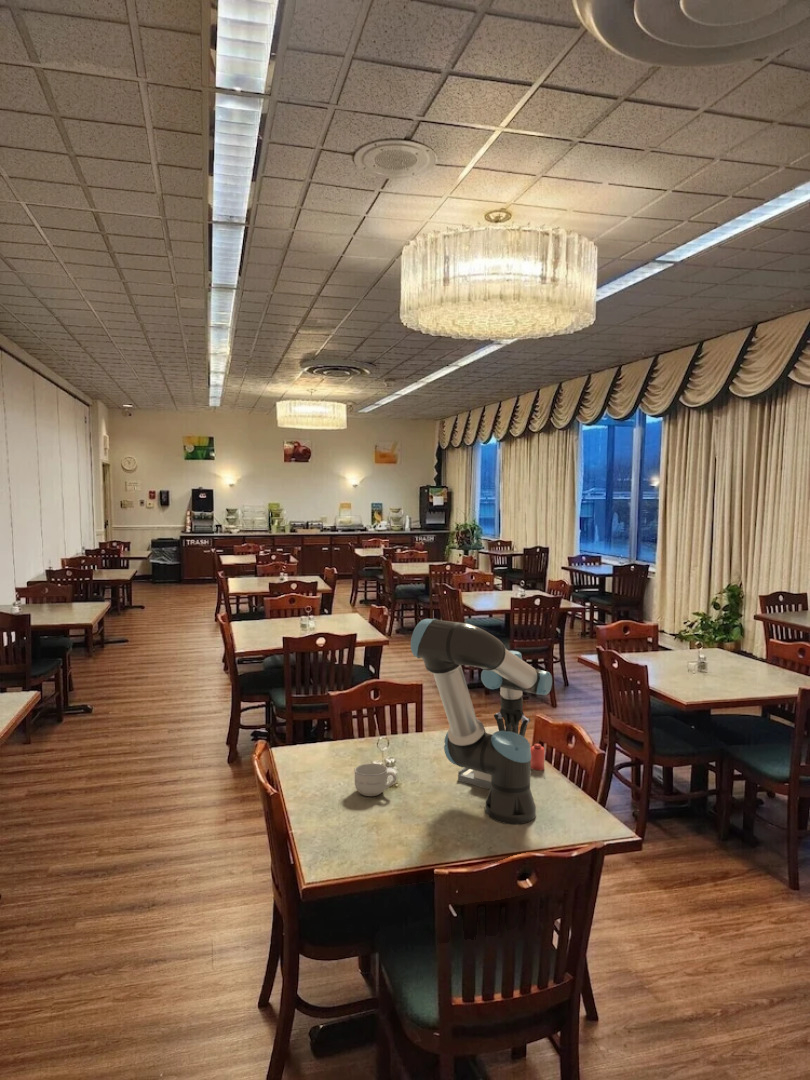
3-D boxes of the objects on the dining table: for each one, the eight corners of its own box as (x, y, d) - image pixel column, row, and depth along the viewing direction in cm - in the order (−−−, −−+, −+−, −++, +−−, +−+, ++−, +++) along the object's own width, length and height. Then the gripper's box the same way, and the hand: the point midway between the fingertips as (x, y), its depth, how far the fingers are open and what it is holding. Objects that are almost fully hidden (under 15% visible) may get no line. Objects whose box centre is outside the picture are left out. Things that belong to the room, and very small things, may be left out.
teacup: (347, 795, 209) (347, 771, 209) (365, 782, 219) (365, 759, 218) (385, 804, 203) (385, 779, 202) (402, 791, 212) (402, 767, 212)
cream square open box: (510, 774, 220) (510, 755, 220) (498, 784, 213) (498, 764, 212) (486, 768, 225) (486, 749, 225) (473, 777, 218) (474, 758, 218)
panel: (531, 765, 233) (531, 757, 233) (498, 791, 212) (498, 782, 212) (493, 755, 242) (493, 748, 242) (458, 780, 221) (458, 771, 220)
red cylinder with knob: (546, 766, 232) (546, 744, 231) (541, 771, 228) (541, 748, 227) (533, 763, 235) (533, 741, 234) (528, 768, 231) (528, 745, 230)
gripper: (533, 696, 224) (534, 763, 225) (499, 691, 232) (500, 756, 233) (523, 702, 218) (524, 771, 219) (489, 696, 225) (490, 763, 227)
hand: (512, 763), depth 226 cm, fingers closed
